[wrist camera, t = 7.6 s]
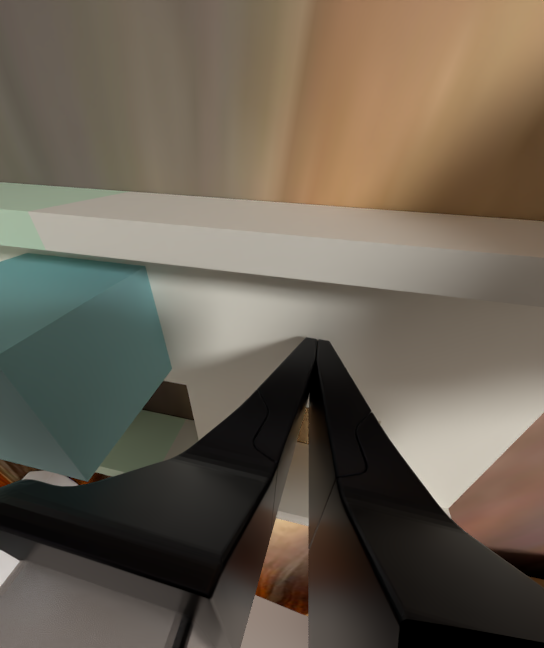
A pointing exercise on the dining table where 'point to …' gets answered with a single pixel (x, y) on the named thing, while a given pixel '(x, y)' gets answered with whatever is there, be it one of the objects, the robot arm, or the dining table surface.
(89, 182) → the dining table surface
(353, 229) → the box
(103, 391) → the block
